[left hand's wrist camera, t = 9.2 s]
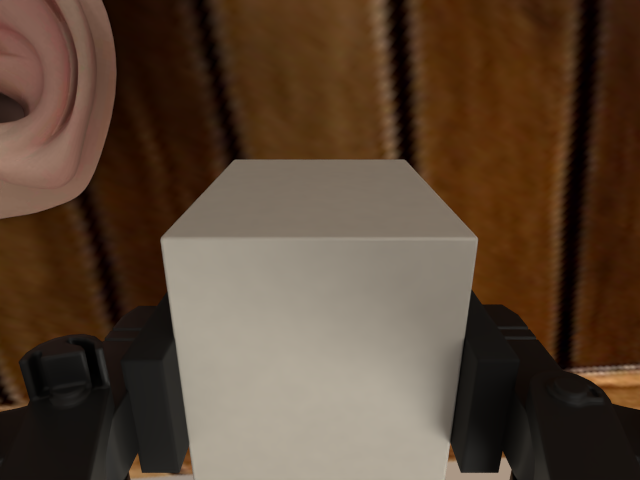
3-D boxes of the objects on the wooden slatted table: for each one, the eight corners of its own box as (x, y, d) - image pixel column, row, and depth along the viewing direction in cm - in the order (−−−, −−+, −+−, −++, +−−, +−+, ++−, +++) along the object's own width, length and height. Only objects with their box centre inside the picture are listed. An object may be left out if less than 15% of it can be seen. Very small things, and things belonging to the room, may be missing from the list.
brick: (246, 339, 17) (198, 517, 10) (233, 159, 15) (158, 237, 8) (393, 340, 17) (440, 517, 10) (405, 159, 15) (480, 237, 8)
